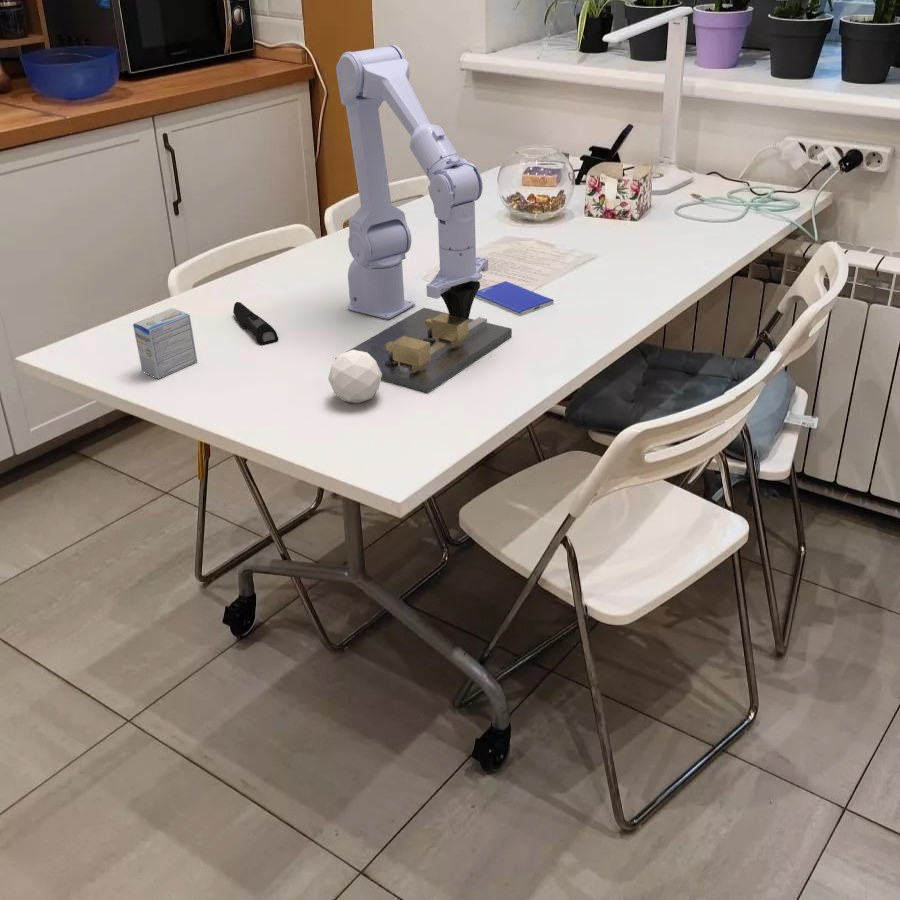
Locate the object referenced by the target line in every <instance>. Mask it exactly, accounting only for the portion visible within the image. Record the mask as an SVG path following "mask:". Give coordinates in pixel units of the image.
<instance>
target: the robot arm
mask: <svg viewBox="0 0 900 900" xmlns="http://www.w3.org/2000/svg"><path fill="white" fill-rule="evenodd" d="M335 70H336V78H337V85H338V90H339V97H340V103H341V105H344V106H345V108H346V109H345V110H346V116H347V124H348V128H349V129H348V130H349V136H350V142H351V143H350V144H351V149H352V155H353V162H354V163H353V164H354V169H355V176H356V183H357V188H358V197H359V202H360V207H359V208H358V209H357V211H356V212H355V213H354V214H353V215H352V216H351V217H350V219H349V220H348V231H349V233H348V234H349V235H348V240H347V243H348V249H349V252H350V254H351V257H352V258H353V259H352V261H351V262H350V264H349V267H348V270H347V271H348V272H347V280H348V293H349V304H350V305H348V306H347V310H349V311H352V312H357V313H361V314H364V315H369V316H373V317H377V318H381V319H385V320H390V319H392V318H394V317H397V315H399V314H401V313H403V312H405V311H406V310H409V309H411V308H412V307H414V306H415V305H416V304H415V302H414V301H409V300H406V299H405V290H404V289H405V287H404V274H403V273H404V272H403V261H404V260H406V257H407V256H406V254H407V253H408V252H409V251H410V250H411V246H412V234H411V230H410V228H409V226H408V223H407V220H406V213H405V212H404V211H403V210H402V209H400V208H398V206H395V205H394V204H393V203H392V199H391V198H392V197H391V193H390V192H391V191H390V184H389V177H388V170H387V162H386V155H385V148H384V147H385V146H384V142H383V141H384V140H383V133H382V127H381V126H382V125H381V120H380V112H379V108H381V107H380V106H382V103H383V102H384V101H385V102H386V104H387V106H388V107H389V108H390V109H391V111H392V112H393V113H394V114H395V116H396V117H397V119H398V120H399V122H400V123H401V125H402V126H404V129H405V130H406V131H407V133H408V134H409V136H410V141H409V149H410V151H411V153H412V154H413V155H414V157H415V159H416V160H417V162H418V164H419V166H420V167H421V169H422V170H423V172H424V174H425V176H426V177H427V179H428V180H429V185H428V187H427V189H428V194H429V197H430V199H431V202H432V205H433V214H434V215H435V217H436V218H437V226H438V228H437V229H438V249H439V250H438V254H439V257H438V258H439V271H438V272H437V274H436V275H435V276H434V278H432V280H431V281H430V282H429V283H427V284H426V297H428V298H432V299H437V300H439V299H440V298H441V299H442V300H443V302H444V304H445V307H446V308H447V311H448V312H447V313H448V314H449V315H453V316H457V317H461V318H465V319H470V315H471V314H470V313H471V309H472V306H473V303H474V300H475V299H476V298H475V295H476V293H477V292H478V290H480V288H481V282H480V280H481V279H483V274H482V273H481V272H487V271H489V258H485V257H482V256H481V257H480V256H477V253H476V252H477V251H476V250H477V247H476V242H477V241H476V239H477V238H476V208H475V207H476V205H475V204H476V201H478V200H479V199H480V198H481V196H482V194H483V188H484V187H483V180H482V177H481V174H480V172H479V169H478V168H477V166H476V165H475V164H474V163H472V162H470V161H469V162H468V161H467V160H466V158H464V157H460V155H459V154H458V152H457V151H456V149H455V147H454V146H453V144H452V142H451V141H450V139H449V138H448V136H447V134H446V132H445V131H444V130H443V128H442V127H441V126H440V125H437V124H432V123H431V122H430V120H429V118H428V116H427V115H426V112H425V110H424V108H423V106H422V103H420V101H419V98H418V96H417V95H416V92H415V90H414V88H413V87H412V84H411V82H410V74H411V72H410V63H409V62H408V61H407V59H406V56H405V54H404V52H403V51H402V49H401V48H400V47H399V46H398V45H395V44H390V45H387V46H383V47H376V48H369V49H364V50H357V51H346V52H343V53H342V55H341V56H340V58H339V60H338V62H337V64H336V67H335Z"/></svg>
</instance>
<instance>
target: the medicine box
mask: <svg viewBox="0 0 900 900" xmlns="http://www.w3.org/2000/svg"><path fill="white" fill-rule="evenodd" d="M132 328H133V332H134V337H135V342H136V346H137V352H138V356H139V357H138V358H139V361H140V366H141V370H142V372H143V373H144V372H145V373H147V374H146V375H148V374H149V375H148V376H150V375H152V376H154V377H156V378H155V379H157V378H158V379H157V380H159V378H160V379H162V378H165V377H166V376H169V375H171V374H173V373H175V372H177V371H181V370H182V369H184V368H186V367H189V366H190V365H193V364H195V363H197V362H198V357H197V351H196V345H195V339H194V333H193V325H192V321H191V315H190V314H189V313H187V312H185V311H182V310H180V309H177V308H169V309H167V310H164V311H161V312H159V313H156V314H154V315H151V316H149V317H146V318H144V319H142V320H139V321H137V322H134V323H133V324H132ZM145 373H144V374H145ZM152 376H151V377H152ZM154 377H153V378H154ZM161 377H162V378H161Z"/></svg>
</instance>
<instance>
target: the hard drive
mask: <svg viewBox="0 0 900 900" xmlns="http://www.w3.org/2000/svg"><path fill="white" fill-rule="evenodd" d="M474 299H476V300H479V301H482V302H484V303H486V302H487V303H486V304H489V305H491V306H494V307H496V308H498V309H502V310H504V311H506V312H509V313H510V314H513V315H516V316H518V317H522V316H526V315H528V314H530V313H534V312H535V311H539V310H541V309H544V308H546V307H550V306H551V305H554V304H555V301H554V299H553V298H550V297H548V296H545V295H542V294H539V293H536V292H534V291H532V290H529V289H527V288H524V287H522V286H519V285H516V284H515V283H512V282H510V281H508V280H504V281H502V282H499V283H496V284H493V285H490V286H488V287H484V288H482V289H479V290H478V292H477V293H476V295H475V298H474Z"/></svg>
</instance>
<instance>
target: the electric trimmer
mask: <svg viewBox="0 0 900 900" xmlns="http://www.w3.org/2000/svg"><path fill="white" fill-rule="evenodd" d="M232 310H233V311H232V312H233V315H234V316H235V318H236V320H237V322H238V323H239V324H240V326H241V327H242V329H246V330H247V329H248V330H249V332H251V333H252V334H253V335H254V336H255V340H256V342H257V343H258V345H260V346H268V345H270V344H271V345H272V344H275V343H278V342H279V337H278V333H277V331H276V329H274V327H273V326H272V325H270V324H269V322H266V320H264V319H263V318H262V317H260V316H259V315H257V314H255V312H253V311H252V310H251V309H250V308H248V307H247V306H246V305H245V304H243V303H242V302H240V301H236V302H235V303H234V305H233V309H232Z"/></svg>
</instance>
